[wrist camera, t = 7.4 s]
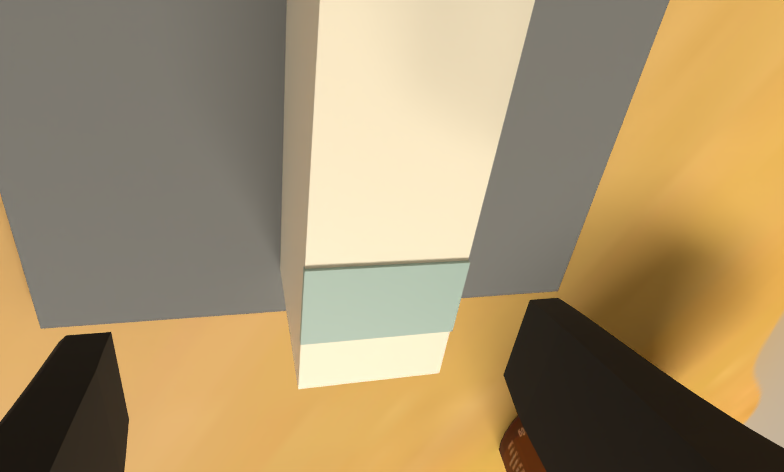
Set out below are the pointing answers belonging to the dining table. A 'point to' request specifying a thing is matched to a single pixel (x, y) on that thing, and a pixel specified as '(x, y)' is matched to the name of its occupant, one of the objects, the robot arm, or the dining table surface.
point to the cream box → (387, 174)
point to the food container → (519, 450)
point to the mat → (259, 151)
